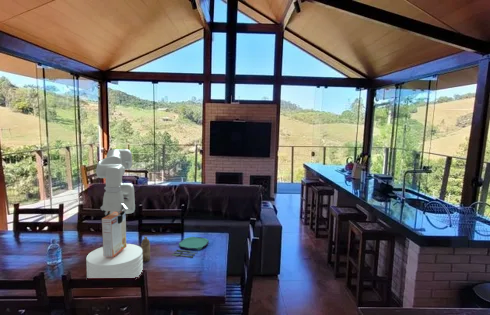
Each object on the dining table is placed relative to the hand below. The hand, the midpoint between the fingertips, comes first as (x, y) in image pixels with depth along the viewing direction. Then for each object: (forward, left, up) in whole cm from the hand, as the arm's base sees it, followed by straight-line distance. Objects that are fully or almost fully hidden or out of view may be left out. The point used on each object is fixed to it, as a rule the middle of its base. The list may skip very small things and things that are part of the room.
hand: (114, 222), depth 162 cm
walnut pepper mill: (+8, +19, -29) cm, 35 cm away
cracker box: (0, 0, -17) cm, 17 cm away
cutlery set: (+28, +42, -30) cm, 59 cm away
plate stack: (0, 0, -29) cm, 29 cm away
